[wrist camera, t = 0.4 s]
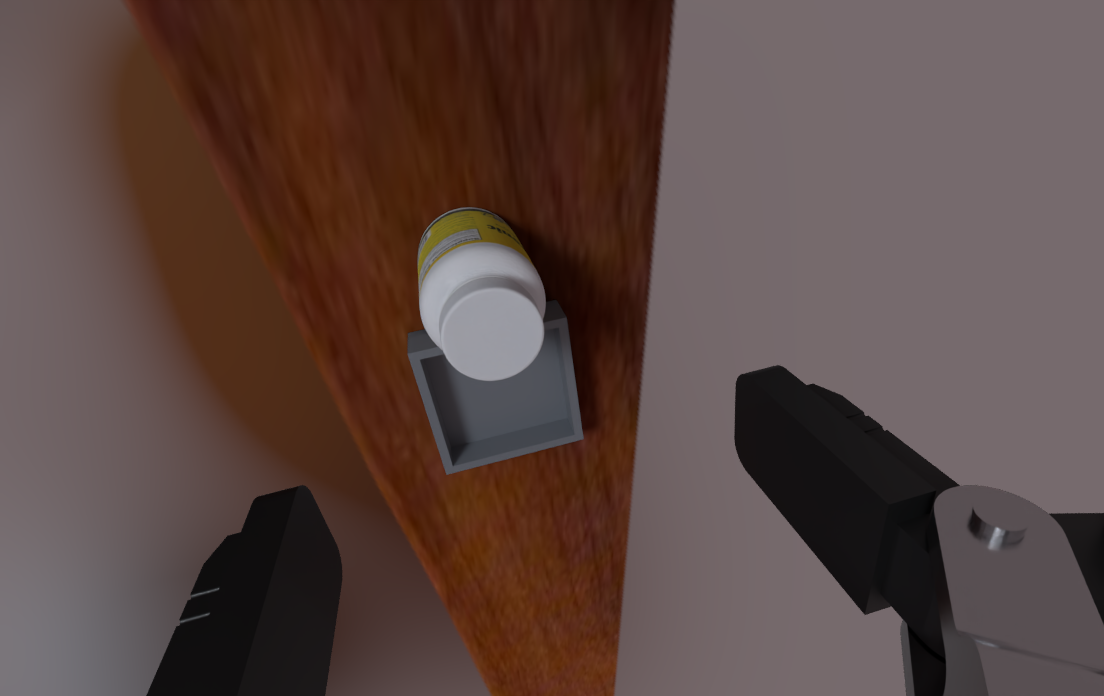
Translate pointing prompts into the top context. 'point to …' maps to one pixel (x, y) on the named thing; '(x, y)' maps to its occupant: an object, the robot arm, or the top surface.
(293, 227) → the top surface
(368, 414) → the top surface
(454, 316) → the supplement bottle
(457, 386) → the tray
